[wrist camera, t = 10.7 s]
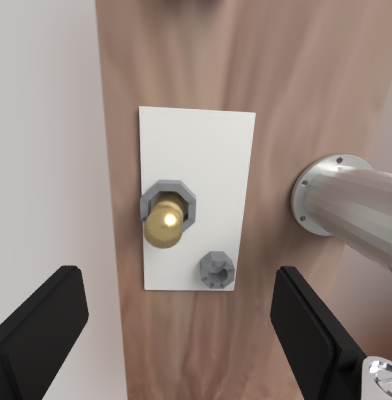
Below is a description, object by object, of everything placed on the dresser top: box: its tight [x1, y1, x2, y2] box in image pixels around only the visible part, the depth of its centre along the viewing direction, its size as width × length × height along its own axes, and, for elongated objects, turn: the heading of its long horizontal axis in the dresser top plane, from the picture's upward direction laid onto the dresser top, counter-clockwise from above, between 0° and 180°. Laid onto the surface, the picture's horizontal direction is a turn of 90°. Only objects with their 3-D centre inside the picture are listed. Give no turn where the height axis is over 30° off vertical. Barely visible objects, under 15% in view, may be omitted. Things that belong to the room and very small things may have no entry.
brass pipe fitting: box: [143, 191, 184, 249], centre depth 25 cm, size 4×4×9 cm
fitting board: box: [139, 106, 256, 291], centre depth 29 cm, size 15×28×4 cm, turn 177°
